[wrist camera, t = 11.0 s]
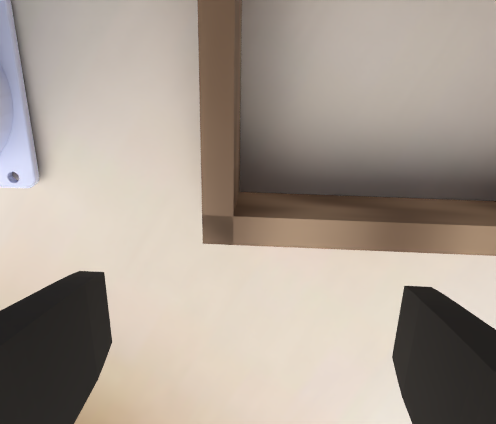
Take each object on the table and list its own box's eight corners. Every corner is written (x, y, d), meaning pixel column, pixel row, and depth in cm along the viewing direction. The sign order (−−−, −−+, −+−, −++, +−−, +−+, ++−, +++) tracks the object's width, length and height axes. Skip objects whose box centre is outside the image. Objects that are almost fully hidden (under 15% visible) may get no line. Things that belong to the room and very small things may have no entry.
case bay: (213, 215, 20) (202, 243, 17) (209, -109, 15) (194, -144, 12) (535, 228, 19) (581, 259, 16) (630, -108, 14) (715, -146, 12)
